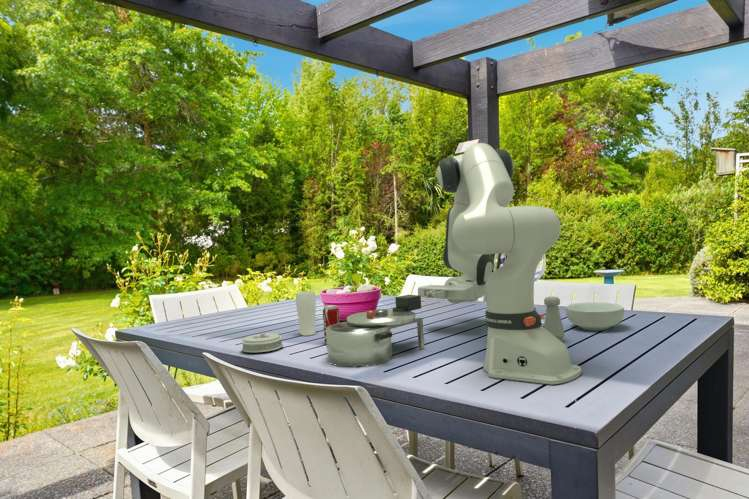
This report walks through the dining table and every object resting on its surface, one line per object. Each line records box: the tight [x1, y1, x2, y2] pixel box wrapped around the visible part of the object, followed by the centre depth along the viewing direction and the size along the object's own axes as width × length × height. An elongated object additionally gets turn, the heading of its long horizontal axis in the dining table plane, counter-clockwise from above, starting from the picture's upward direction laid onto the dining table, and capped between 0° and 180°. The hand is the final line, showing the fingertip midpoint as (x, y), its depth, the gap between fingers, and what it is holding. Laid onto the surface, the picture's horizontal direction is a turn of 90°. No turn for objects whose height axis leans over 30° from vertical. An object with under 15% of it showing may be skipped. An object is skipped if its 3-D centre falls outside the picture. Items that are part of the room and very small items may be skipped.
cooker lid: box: [346, 294, 422, 327], centre depth 151 cm, size 20×25×5 cm
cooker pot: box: [326, 317, 425, 367], centre depth 147 cm, size 22×27×9 cm
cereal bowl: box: [565, 301, 625, 332], centre depth 163 cm, size 17×17×7 cm
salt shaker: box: [543, 296, 565, 342], centre depth 148 cm, size 6×6×13 cm
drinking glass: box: [295, 290, 317, 337], centre depth 181 cm, size 7×7×15 cm
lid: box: [241, 332, 284, 354], centre depth 162 cm, size 13×13×5 cm
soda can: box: [322, 304, 341, 345], centre depth 165 cm, size 5×5×12 cm
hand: (430, 295), depth 164 cm, fingers closed
